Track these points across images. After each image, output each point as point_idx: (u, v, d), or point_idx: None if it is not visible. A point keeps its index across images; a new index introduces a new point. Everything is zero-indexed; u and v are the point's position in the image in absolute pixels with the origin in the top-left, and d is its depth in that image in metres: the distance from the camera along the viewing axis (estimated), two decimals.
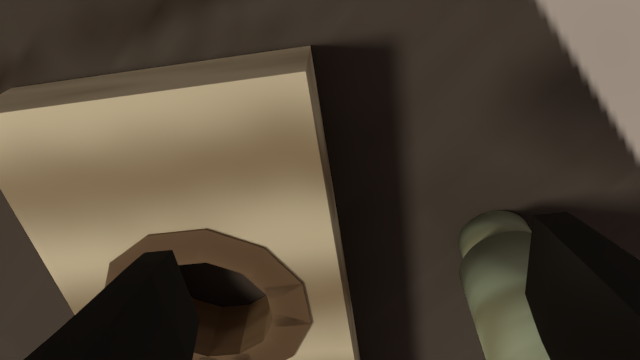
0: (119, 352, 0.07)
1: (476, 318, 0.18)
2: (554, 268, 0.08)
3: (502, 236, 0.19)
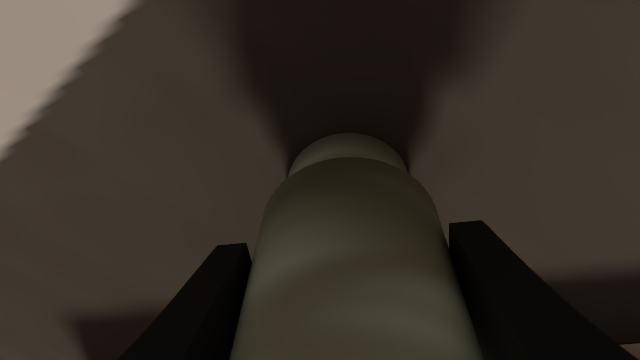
0: (212, 345, 0.07)
1: None
2: (462, 276, 0.08)
3: None
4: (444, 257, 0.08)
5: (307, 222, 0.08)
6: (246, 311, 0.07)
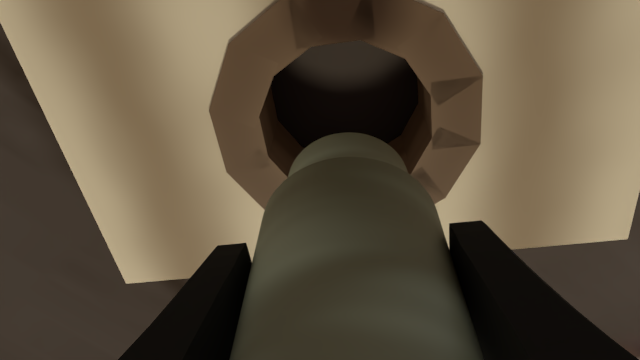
0: (212, 345, 0.07)
1: None
2: (462, 276, 0.08)
3: None
4: (444, 257, 0.08)
5: (307, 221, 0.08)
6: (246, 311, 0.07)
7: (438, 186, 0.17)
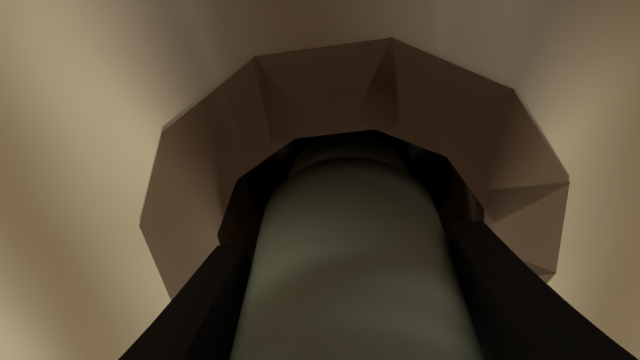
0: (212, 345, 0.07)
1: None
2: (462, 276, 0.08)
3: None
4: (444, 257, 0.08)
5: (307, 222, 0.08)
6: (246, 311, 0.07)
7: None
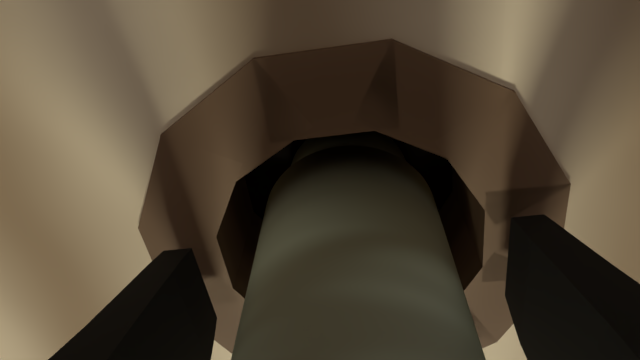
0: (143, 350, 0.07)
1: None
2: (529, 270, 0.08)
3: None
4: (440, 238, 0.08)
5: (310, 205, 0.08)
6: (252, 288, 0.08)
7: (486, 326, 0.11)
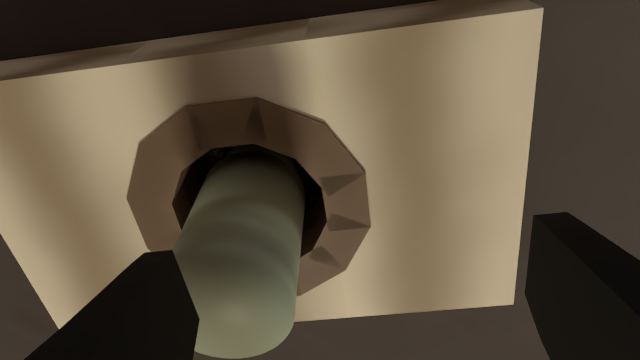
0: (119, 352, 0.07)
1: None
2: (554, 268, 0.08)
3: None
4: (287, 201, 0.16)
5: (218, 183, 0.16)
6: (184, 224, 0.15)
7: (338, 260, 0.19)
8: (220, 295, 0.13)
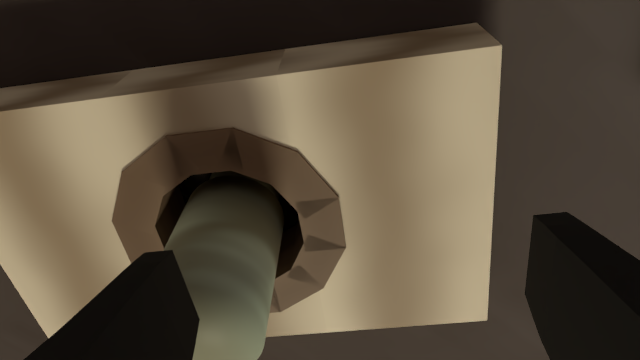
0: (119, 352, 0.07)
1: None
2: (554, 268, 0.08)
3: None
4: (263, 226, 0.16)
5: (196, 208, 0.16)
6: None
7: (316, 278, 0.19)
8: None
